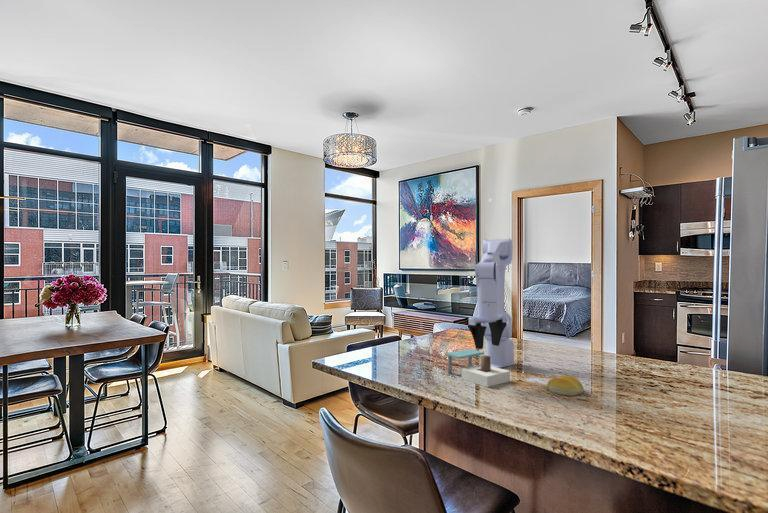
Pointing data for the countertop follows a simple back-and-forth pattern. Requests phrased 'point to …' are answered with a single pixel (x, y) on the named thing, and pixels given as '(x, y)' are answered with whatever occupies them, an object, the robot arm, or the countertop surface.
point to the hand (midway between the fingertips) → (487, 346)
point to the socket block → (485, 376)
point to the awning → (462, 354)
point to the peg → (485, 364)
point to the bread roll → (565, 386)
